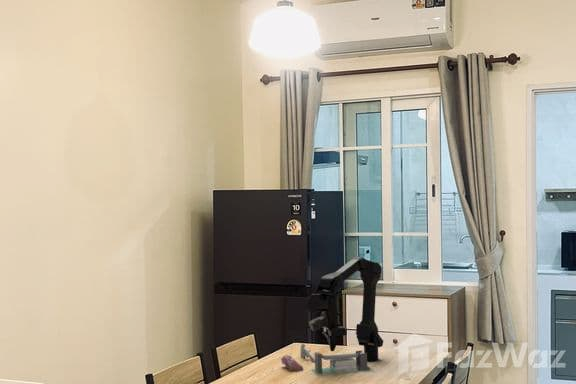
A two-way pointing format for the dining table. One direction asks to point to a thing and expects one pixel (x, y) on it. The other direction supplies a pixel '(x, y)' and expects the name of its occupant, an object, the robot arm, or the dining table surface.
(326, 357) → the strap
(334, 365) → the heatsink
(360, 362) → the hinge post
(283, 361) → the purple rounded piece
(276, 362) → the dining table surface
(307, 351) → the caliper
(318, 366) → the post
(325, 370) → the board
